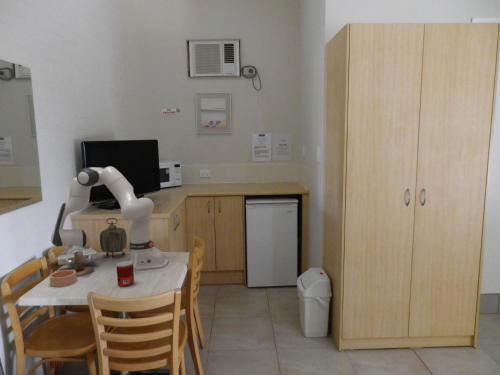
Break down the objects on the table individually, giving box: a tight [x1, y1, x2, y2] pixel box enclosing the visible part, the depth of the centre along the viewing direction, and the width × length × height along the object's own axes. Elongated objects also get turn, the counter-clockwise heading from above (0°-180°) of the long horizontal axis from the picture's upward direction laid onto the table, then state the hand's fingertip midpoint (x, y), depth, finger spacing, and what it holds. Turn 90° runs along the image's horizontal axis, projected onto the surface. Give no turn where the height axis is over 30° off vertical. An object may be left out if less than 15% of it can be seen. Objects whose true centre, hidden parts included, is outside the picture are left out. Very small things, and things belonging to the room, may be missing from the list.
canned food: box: [116, 260, 135, 288], centre depth 182 cm, size 8×8×11 cm
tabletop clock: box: [99, 217, 128, 258], centre depth 228 cm, size 14×9×25 cm, turn 91°
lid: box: [69, 252, 94, 278], centre depth 200 cm, size 14×14×11 cm
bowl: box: [48, 269, 78, 288], centre depth 185 cm, size 12×12×5 cm
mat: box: [70, 266, 100, 278], centre depth 201 cm, size 16×16×1 cm
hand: (79, 261), depth 199 cm, fingers open, 8 cm apart
